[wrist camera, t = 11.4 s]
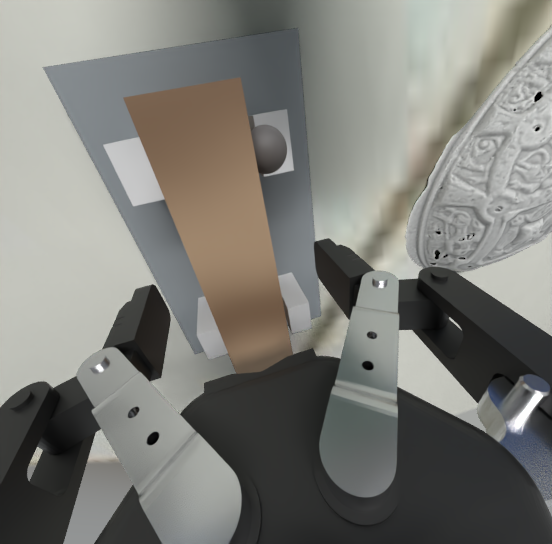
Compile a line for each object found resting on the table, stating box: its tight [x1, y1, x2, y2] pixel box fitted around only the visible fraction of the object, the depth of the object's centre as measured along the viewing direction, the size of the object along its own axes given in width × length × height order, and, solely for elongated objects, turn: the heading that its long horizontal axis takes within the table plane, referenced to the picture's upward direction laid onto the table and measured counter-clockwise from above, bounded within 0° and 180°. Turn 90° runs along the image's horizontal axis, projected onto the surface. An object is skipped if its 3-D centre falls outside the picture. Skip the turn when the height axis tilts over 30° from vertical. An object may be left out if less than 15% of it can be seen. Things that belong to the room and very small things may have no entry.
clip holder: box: [43, 28, 321, 360], centre depth 16 cm, size 20×12×6 cm, turn 9°
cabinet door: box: [123, 77, 293, 374], centre depth 14 cm, size 16×4×8 cm, turn 9°
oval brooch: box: [405, 24, 552, 271], centre depth 20 cm, size 16×25×7 cm, turn 151°
